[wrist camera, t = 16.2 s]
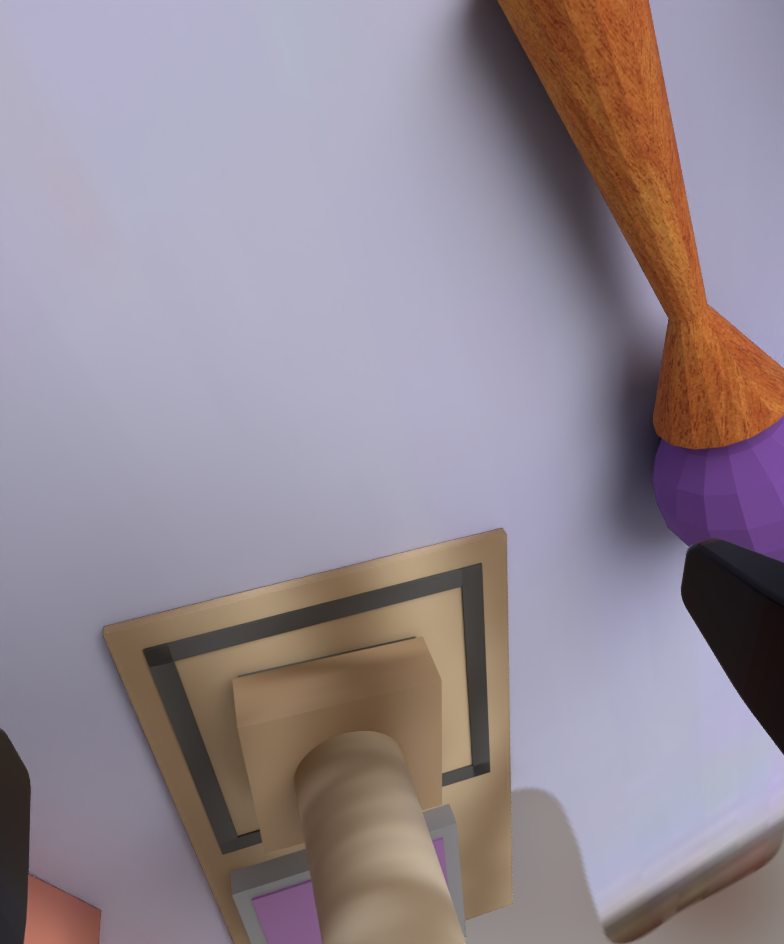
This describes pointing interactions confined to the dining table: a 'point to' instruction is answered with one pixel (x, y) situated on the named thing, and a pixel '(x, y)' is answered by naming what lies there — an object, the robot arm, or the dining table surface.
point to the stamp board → (317, 635)
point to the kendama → (666, 272)
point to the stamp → (354, 786)
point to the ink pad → (291, 894)
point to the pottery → (59, 917)
